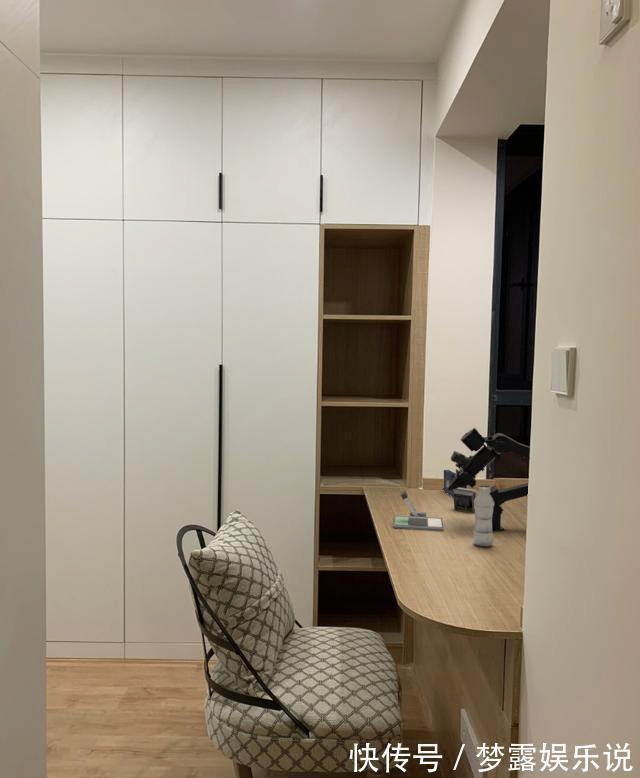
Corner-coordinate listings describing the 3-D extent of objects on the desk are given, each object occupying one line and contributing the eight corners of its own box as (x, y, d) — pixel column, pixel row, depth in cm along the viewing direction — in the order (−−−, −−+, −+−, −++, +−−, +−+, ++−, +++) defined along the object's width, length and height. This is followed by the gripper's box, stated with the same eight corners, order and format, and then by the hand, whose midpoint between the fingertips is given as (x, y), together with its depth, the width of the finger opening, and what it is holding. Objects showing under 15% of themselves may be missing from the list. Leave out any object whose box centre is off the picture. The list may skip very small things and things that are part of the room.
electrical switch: (478, 511, 249) (478, 488, 247) (473, 515, 244) (473, 492, 243) (455, 507, 254) (455, 485, 252) (451, 511, 249) (450, 489, 248)
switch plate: (442, 520, 236) (442, 510, 235) (443, 531, 222) (444, 521, 221) (394, 517, 238) (394, 508, 238) (392, 528, 224) (393, 518, 224)
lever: (421, 517, 232) (405, 490, 232) (421, 521, 227) (405, 493, 228) (417, 519, 232) (401, 492, 232) (417, 523, 228) (400, 495, 228)
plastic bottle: (496, 548, 205) (498, 488, 203) (477, 549, 203) (479, 489, 202) (488, 541, 211) (490, 483, 209) (469, 542, 210) (471, 484, 208)
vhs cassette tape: (466, 502, 262) (467, 478, 262) (459, 502, 262) (460, 479, 261) (448, 491, 280) (449, 469, 280) (442, 491, 280) (443, 469, 279)
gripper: (461, 439, 234) (431, 467, 237) (467, 449, 216) (434, 479, 218) (482, 461, 234) (452, 488, 236) (489, 472, 216) (456, 502, 218)
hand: (448, 489), depth 227 cm, fingers closed
